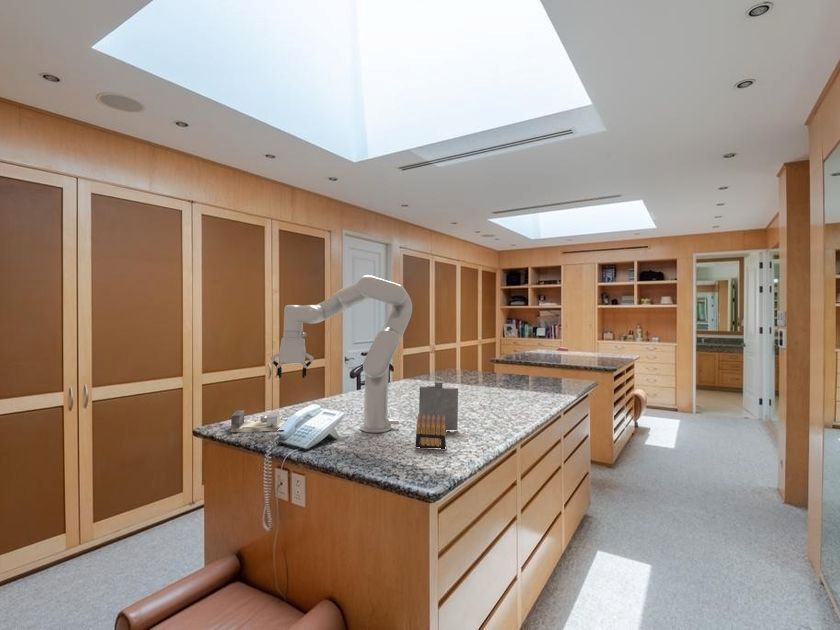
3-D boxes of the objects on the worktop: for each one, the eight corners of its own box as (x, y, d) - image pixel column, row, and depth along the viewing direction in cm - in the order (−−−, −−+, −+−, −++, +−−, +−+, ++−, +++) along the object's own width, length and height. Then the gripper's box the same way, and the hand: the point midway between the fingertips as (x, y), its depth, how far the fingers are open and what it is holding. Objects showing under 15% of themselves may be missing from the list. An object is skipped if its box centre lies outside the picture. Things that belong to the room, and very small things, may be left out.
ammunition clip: (415, 448, 152) (415, 414, 152) (416, 446, 154) (416, 413, 154) (445, 450, 151) (446, 415, 151) (445, 448, 153) (446, 414, 153)
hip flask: (457, 430, 177) (458, 381, 177) (456, 433, 173) (457, 383, 173) (419, 428, 180) (420, 380, 180) (417, 430, 176) (418, 381, 176)
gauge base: (287, 424, 181) (287, 409, 181) (284, 431, 171) (284, 414, 171) (236, 426, 177) (236, 410, 177) (230, 432, 167) (231, 415, 167)
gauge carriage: (279, 421, 179) (279, 412, 179) (276, 427, 170) (276, 417, 170) (262, 422, 178) (263, 412, 178) (258, 428, 168) (259, 418, 168)
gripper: (315, 335, 182) (314, 376, 182) (272, 334, 178) (271, 376, 178) (314, 336, 174) (313, 379, 174) (269, 335, 171) (268, 378, 171)
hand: (291, 377), depth 176 cm, fingers open, 8 cm apart
